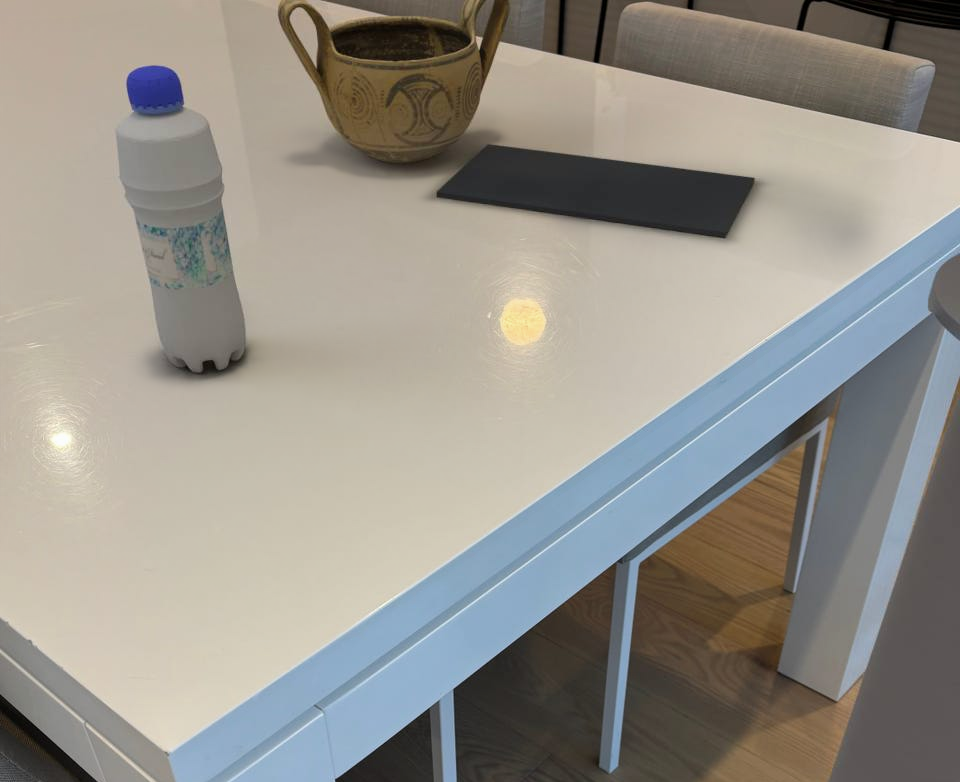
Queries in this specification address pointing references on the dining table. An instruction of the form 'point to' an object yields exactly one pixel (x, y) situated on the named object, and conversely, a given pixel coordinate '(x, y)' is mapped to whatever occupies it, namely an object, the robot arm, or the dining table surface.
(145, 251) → the bottle
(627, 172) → the place mat
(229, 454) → the dining table surface
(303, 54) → the ceramic bowl
